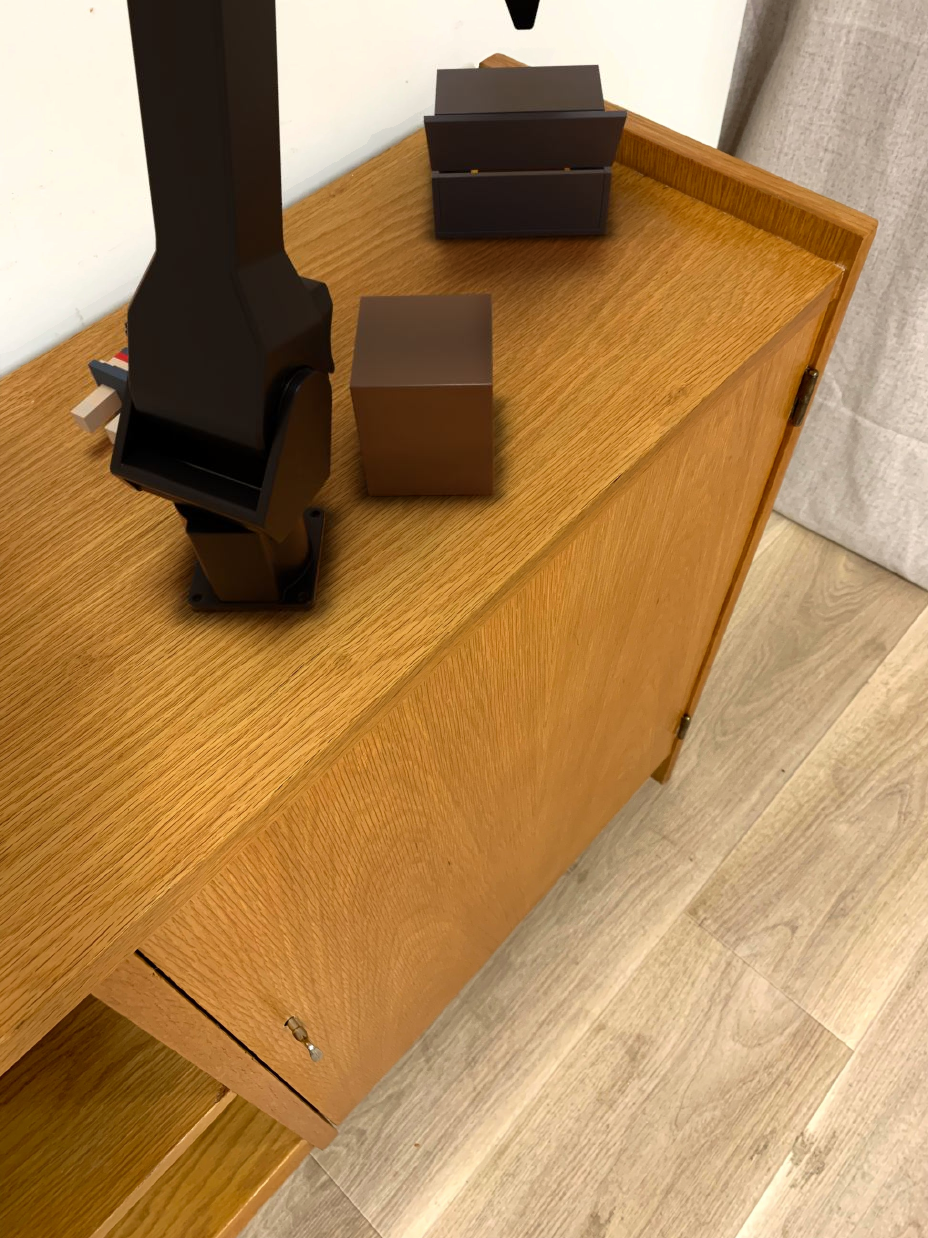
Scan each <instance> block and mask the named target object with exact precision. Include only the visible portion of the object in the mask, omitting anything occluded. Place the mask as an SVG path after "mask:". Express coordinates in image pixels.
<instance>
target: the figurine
mask: <svg viewBox="0 0 928 1238" xmlns="http://www.w3.org/2000/svg"><path fill="white" fill-rule="evenodd" d="M123 324H124V327H125V330H124V333H125V336H126V337H127V321H125V322H124V323H123ZM87 366H88V371H89V374H90V376H91V378H92V380H93V381H94V384H95V386H96V387H97V388H95V390H94V391H92V393H90V394H89V395H87V396H86V397H85V398H84V399H83V400H82V401H81V402H79V404H78V405H76V406H75V407H74V408H73V409H72V410H70V415H71V416H72V418H73V420H74V421H75V423H76V425H77V427H78V428H79V429H81V430H83V431H85V432H87V433H90V434H92V435H93V433H95V432H96V431H97V430H98V429H99V428H100V427H101V426H102V425H104V423H106V422H107V421H108V420H109V419H110V418H111V417H113V415H116V416H115V417H114V418H113V419H112V420H111V421H110V422H109V423H108V424H106V425H105V426H104V427H103V429H104V431H105V433H106V435H107V436H108V438H109V441H110V442H111V444H112V445H114V442H115V437H116V432H117V427H118V422H119V416H120V411H121V406H122V401H123V396H124V390H125V385H126V380H127V375H128V346H124V347H123V348H122V349H121V350H119V352H118V353H116V355H114V356H113V357H112V358H111V359H109V361H106V360H103V359H100V360H97V359H95V358H94V359H92V360H91V361H90V362H89V363H87Z"/></svg>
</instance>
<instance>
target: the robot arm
mask: <svg viewBox="0 0 928 1238" xmlns="http://www.w3.org/2000/svg"><path fill="white" fill-rule="evenodd" d="M504 2H505V5H506V8H507V11H508V14H509V16H510V19H511V22H512V25H513V28H514V29H515V30H517V31H530V30H532V29H533V28H534V27H535V23H536V19H537V15H538V11H539V6H540V2H541V0H504ZM126 8H127V15H128V25H129V32H130V40H131V48H132V56H133V57H132V58H133V64H134V73H135V81H136V89H137V97H138V104H139V113H140V123H141V130H142V138H143V147H144V153H145V164H146V171H147V177H148V186H149V187H148V188H149V196H150V203H151V211H152V219H153V227H154V237H155V238H154V239H155V242H154V243H155V244H154V246H155V247H154V252H153V255H152V257H151V259H150V261H149V262H148V264H147V266H146V269H145V270H144V273H143V275H142V276H141V278H140V281H139V283H138V286H136V289H135V291H134V293H133V296H132V297H131V299H130V301H129V303H128V304H127V308H126V322H127V329H126V330H127V336H126V337H127V338H126V339H127V340H126V341H127V347H128V375H127V380H126V385H125V390H124V396H123V401H122V406H121V411H120V416H119V422H118V427H117V432H116V437H115V442H114V444H113V447H112V448H113V449H112V452H111V453H112V454H111V458H110V464H109V472H110V474H111V475H112V476H113V477H115V478H116V479H118V480H119V481H120V482H121V483H123V484H124V485H126V487H128V488H129V489H131V490H135V491H137V492H140V493H141V492H145V493H148V494H151V495H153V496H156V497H158V498H160V499H161V498H162V499H164V500H167V501H169V502H172V503H173V506H174V508H175V510H176V512H177V514H178V517H179V518H180V521H181V523H182V525H183V528H184V531H185V534H186V536H187V538H188V540H189V542H190V544H191V547H192V549H193V551H194V553H195V555H196V560H195V565H194V570H193V573H192V578H191V581H190V587H189V592H188V596H187V602H188V604H189V606H190V607H191V609H192V610H194V611H253V610H254V611H267V610H268V611H269V610H273V611H274V610H275V611H277V610H279V611H280V610H284V611H285V610H308V609H310V608H312V607H313V606H314V605H315V602H316V595H317V588H318V581H319V573H320V565H321V559H322V549H323V542H324V533H325V525H326V515H325V511H324V509H323V508H321V507H318V506H310V504H311V503H312V502H313V500H314V499H315V498H316V496H317V495H318V493H319V492H320V491H321V489H322V488H323V487H324V485H325V484H326V483H327V481H328V480H329V478H330V475H331V461H332V429H333V428H332V425H333V424H332V423H333V389H332V388H333V387H332V384H331V381H330V374H334V373H335V370H336V365H335V362H334V357H333V354H332V340H331V339H332V323H333V314H334V313H333V311H334V304H333V300H332V295H331V293H330V289H329V287H328V285H327V283H326V282H324V281H320V280H316V279H314V278H310V277H306V276H302V275H299V273H298V271H297V269H296V267H295V266H294V264H293V262H292V260H291V259H290V257H289V255H288V253H287V251H286V247H285V241H284V221H283V220H284V219H283V217H284V216H283V215H284V214H283V189H282V187H283V186H282V185H283V184H282V157H281V155H282V154H281V126H280V125H281V124H280V123H281V122H280V96H279V95H280V94H279V93H280V92H279V66H278V63H279V62H278V38H277V37H278V33H277V6H276V0H126ZM315 516H316V517H315ZM304 598H307V599H306V600H303V599H304ZM199 599H200V600H199ZM197 600H199V601H197Z"/></svg>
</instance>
